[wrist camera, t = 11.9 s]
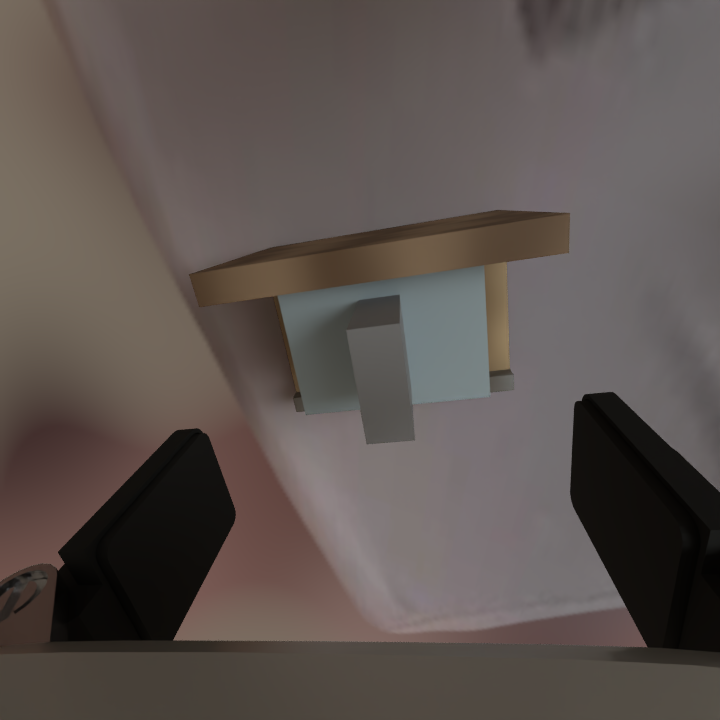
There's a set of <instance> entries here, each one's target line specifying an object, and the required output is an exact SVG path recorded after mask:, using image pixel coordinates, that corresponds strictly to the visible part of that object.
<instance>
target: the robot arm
mask: <svg viewBox="0 0 720 720" xmlns="http://www.w3.org/2000/svg"><path fill="white" fill-rule="evenodd" d="M570 495H571V501H572V504H573V507H574V509H575V511H576V513H577V515H578V517H579V519H580V521H581V522H582V524H583V526H584V528H585V530H586V532H587V534H588V536H589V538H590V539H591V541H592V543H593V545H594V547H595V549H596V551H597V553H598V554H599V556H600V558H601V560H602V562H603V564H604V566H605V568H606V570H607V571H608V573H609V575H610V577H611V579H612V581H613V583H614V585H615V586H616V588H617V590H618V592H619V594H620V596H621V598H622V600H623V602H624V603H625V605H626V607H627V609H628V611H629V613H630V615H631V617H632V618H633V620H634V622H635V624H636V626H637V628H638V630H639V632H640V634H641V635H642V637H643V639H644V641H645V643H646V645H647V647H617V646H615V647H614V646H586V645H554V644H488V643H486V644H485V643H422V642H421V643H419V642H331V641H330V642H329V641H328V642H327V641H173V639H174V637H175V635H176V633H177V631H178V629H179V627H180V626H181V624H182V622H183V620H184V618H185V616H186V614H187V612H188V610H189V608H190V606H191V605H192V603H193V601H194V599H195V597H196V595H197V593H198V591H199V589H200V587H201V585H202V583H203V581H204V580H205V578H206V576H207V574H208V572H209V570H210V568H211V566H212V564H213V562H214V560H215V558H216V557H217V555H218V553H219V551H220V549H221V547H222V545H223V543H224V541H225V539H226V537H227V536H228V534H229V532H230V530H231V527H232V526H233V524H234V521H235V516H236V514H235V508H234V505H233V502H232V499H231V497H230V494H229V491H228V489H227V486H226V483H225V480H224V478H223V475H222V472H221V469H220V467H219V464H218V461H217V458H216V456H215V453H214V450H213V447H212V445H211V442H210V439H209V437H208V436H207V434H205V433H203V432H202V431H201V430H200V429H197V428H196V429H185V430H177V431H175V432H174V433H173V434H172V435H171V436H170V437H169V438H168V439H167V440H166V441H165V442H164V443H163V444H162V445H161V446H160V447H159V448H158V449H157V451H155V452H154V453H153V454H152V456H150V457H149V459H148V460H147V461H146V462H145V463H144V464H143V465H142V466H141V467H140V468H139V469H138V470H137V471H136V472H135V473H134V474H133V475H132V476H131V477H130V478H129V479H128V480H127V481H126V482H125V483H124V484H123V485H122V486H121V487H120V489H119V490H117V492H116V493H115V494H114V495H113V496H112V497H111V498H110V499H109V500H108V501H107V502H106V503H105V504H104V505H103V506H102V507H101V508H100V509H99V510H98V511H97V512H96V513H95V514H94V516H92V517H91V518H90V520H89V521H88V522H87V523H85V525H84V526H83V527H82V528H81V529H80V530H79V531H78V532H77V533H76V534H75V535H74V536H73V537H72V538H71V539H70V540H69V541H68V542H67V543H66V544H65V545H64V546H63V547H62V548H61V549H60V550H59V551H58V553H59V555H60V556H61V558H62V560H63V561H64V563H65V564H64V565H63V566H62V567H61V568H60V570H59V571H58V570H57V569H56V567H54V566H53V565H51V564H38V565H33V566H30V567H27V568H25V569H22V570H20V571H18V572H16V573H14V574H12V575H10V576H9V577H7V578H5V579H3V580H2V581H1V582H0V720H720V492H719V491H718V490H717V489H716V488H715V487H714V486H713V485H712V484H711V483H709V482H708V481H707V480H706V479H705V478H704V477H703V476H702V475H701V474H700V473H699V472H698V471H697V470H696V469H695V468H694V467H693V466H692V465H691V464H690V463H689V462H688V461H686V460H685V459H684V458H683V457H682V456H681V455H680V454H679V453H678V452H677V451H676V450H674V449H673V448H671V447H670V446H669V445H668V444H667V443H666V442H665V441H664V440H663V439H662V438H661V437H660V436H659V435H658V434H657V433H656V432H655V431H654V430H652V429H651V428H650V427H649V426H648V425H647V424H646V423H645V422H644V421H643V420H642V419H641V418H640V417H639V416H638V415H637V414H636V413H635V412H634V411H633V410H632V409H631V408H630V407H629V406H628V405H627V404H625V403H624V402H623V401H622V400H621V399H620V398H619V397H618V396H617V395H616V394H615V393H613V392H606V393H595V394H585V395H584V396H583V398H582V401H577V402H575V406H574V423H573V444H572V465H571V487H570Z"/></svg>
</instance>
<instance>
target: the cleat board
mask: <svg viewBox="0 0 720 720" xmlns="http://www.w3.org/2000/svg"><path fill="white" fill-rule="evenodd" d="M569 229H570V213H554V212H530V211H507V210H495V211H489V212H483V213H477V214H471V215H465V216H459V217H453V218H447V219H441V220H435V221H429V222H423V223H417V224H411V225H405V226H399V227H393V228H387V229H381V230H375V231H369V232H363V233H357V234H351V235H345V236H339V237H333V238H327V239H321V240H315V241H308V242H302V243H296V244H290V245H284V246H278V247H272V248H269V249H266V250H262V251H259V252H256V253H253V254H250V255H247V256H244V257H241V258H238V259H235V260H232V261H229V262H226V263H223V264H220V265H217V266H213V267H210V268H207V269H204V270H201V271H198V272H195V273H192V274H189V276H190V279H191V282H192V285H193V289H194V292H195V295H196V298H197V301H198V305H199V307H204V306H211V305H217V304H224V303H231V302H238V301H245V300H251V299H258V298H265V297H272V296H273V298H274V302H275V306H276V310H277V314H278V319H279V323H280V327H281V331H282V335H283V339H284V343H285V347H286V352H287V356H288V360H289V364H290V368H291V372H292V376H293V380H294V385H295V389H296V394H295V396H294V398H293V400H294V404H295V408H296V412H302V411H305V410H304V406H303V401H302V397H301V393H300V389H299V385H298V380H297V376H296V372H295V368H294V363H293V359H292V355H291V351H290V346H289V342H288V338H287V334H286V330H285V325H284V321H283V317H282V313H281V308H280V304H279V300H278V295H285V294H292V293H299V292H306V291H312V290H319V289H326V288H333V287H340V286H346V285H353V284H360V283H367V282H374V281H380V280H387V279H394V278H401V277H408V276H414V275H421V274H428V273H435V272H442V271H448V270H455V269H462V268H469V267H476V266H482V265H484V274H485V295H486V316H487V337H488V358H489V379H490V392H500V391H510V390H514V376H513V373H512V372H511V370H510V362H509V329H508V295H507V262H510V261H516V260H523V259H530V258H537V257H543V256H550V255H557V254H564V253H569Z"/></svg>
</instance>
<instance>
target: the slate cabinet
mask: <svg viewBox="0 0 720 720" xmlns="http://www.w3.org/2000/svg"><path fill="white" fill-rule="evenodd" d="M278 300H279V304H280V308H281V313H282V317H283V321H284V325H285V330H286V334H287V338H288V342H289V346H290V351H291V355H292V359H293V363H294V368H295V372H296V376H297V380H298V385H299V389H300V393H301V397H302V401H303V406H304V410H305V414H306V415H310V414H320V413H330V412H341V411H351V410H361V415H362V421H363V427H364V432H365V438H366V443H367V444H376V443H388V442H400V441H412V440H415V435H414V420H413V405H412V404H422V403H432V402H443V401H453V400H463V399H473V398H483V397H490V379H489V358H488V337H487V316H486V295H485V274H484V265H482V266H476V267H469V268H462V269H455V270H448V271H442V272H435V273H428V274H421V275H414V276H408V277H401V278H394V279H387V280H380V281H374V282H367V283H360V284H353V285H346V286H340V287H333V288H326V289H319V290H312V291H306V292H299V293H292V294H285V295H278Z"/></svg>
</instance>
